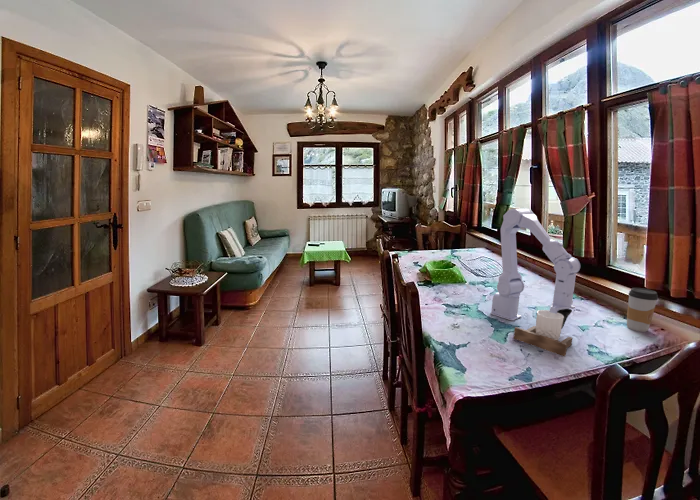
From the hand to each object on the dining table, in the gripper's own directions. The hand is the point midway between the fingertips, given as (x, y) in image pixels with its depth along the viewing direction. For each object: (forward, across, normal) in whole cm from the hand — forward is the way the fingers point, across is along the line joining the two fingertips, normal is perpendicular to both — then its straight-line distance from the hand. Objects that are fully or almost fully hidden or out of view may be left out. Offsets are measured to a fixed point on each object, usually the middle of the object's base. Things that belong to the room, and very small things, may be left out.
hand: (558, 327), depth 121 cm
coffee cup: (+3, +31, -16) cm, 35 cm away
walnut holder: (+2, -10, 0) cm, 11 cm away
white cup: (+3, -10, 0) cm, 10 cm away
